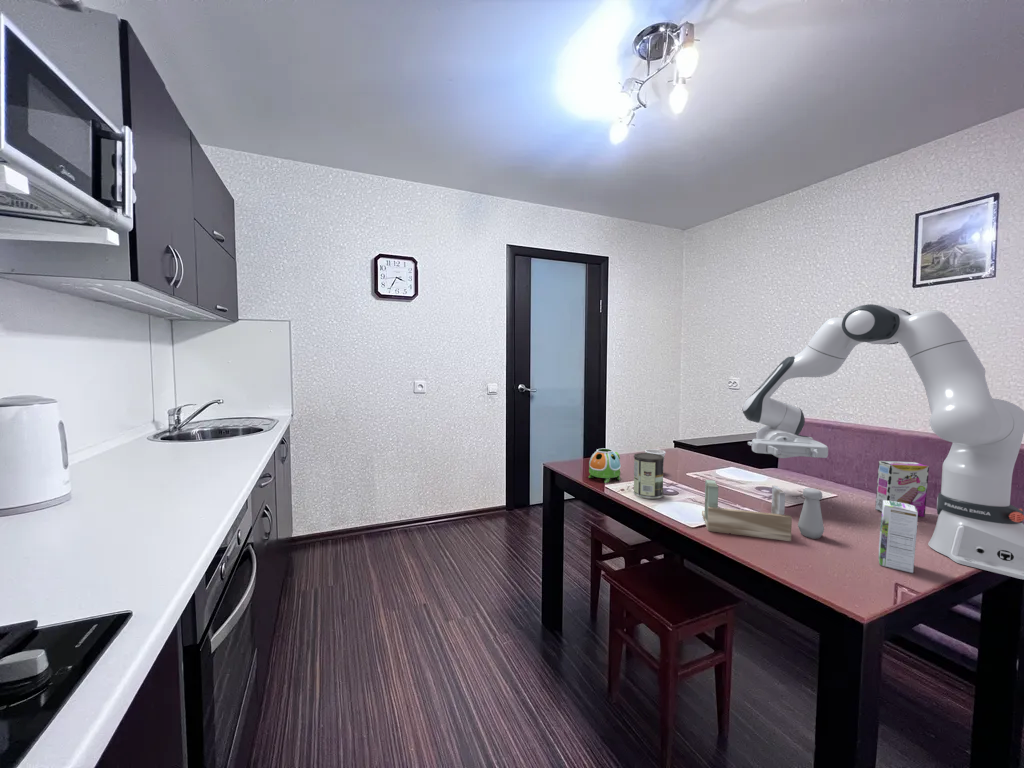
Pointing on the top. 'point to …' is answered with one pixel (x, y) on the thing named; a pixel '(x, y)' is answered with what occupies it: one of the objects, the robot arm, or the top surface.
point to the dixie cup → (656, 452)
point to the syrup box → (898, 536)
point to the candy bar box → (902, 484)
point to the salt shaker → (811, 514)
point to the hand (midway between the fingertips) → (796, 453)
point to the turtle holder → (605, 464)
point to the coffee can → (648, 475)
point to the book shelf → (747, 517)
